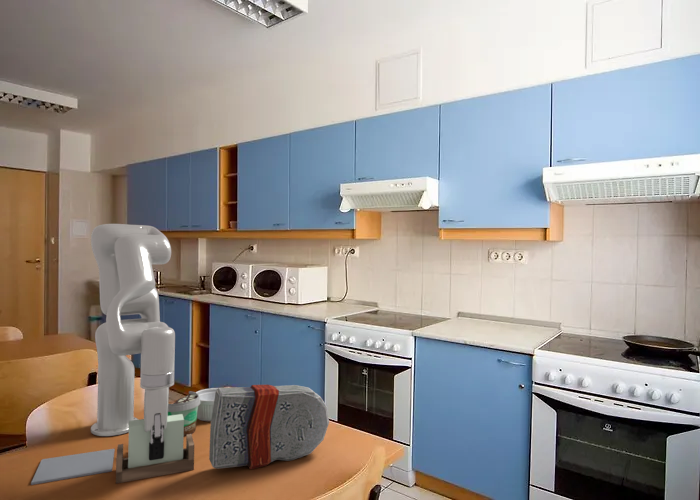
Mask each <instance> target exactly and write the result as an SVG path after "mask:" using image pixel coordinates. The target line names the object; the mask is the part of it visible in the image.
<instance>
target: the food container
mask: <svg viewBox="0 0 700 500" xmlns="http://www.w3.org/2000/svg"><path fill="white" fill-rule="evenodd" d="M199 404H200V397H199V395H198V394H197V393H196V392H195V391H190V390H189V391H188V394H187V395H185V396H183V397H180V398H178V399H177V400H176V401H174V402H173V403H168V416H171V415H179V414H183V418H184V438H186V435H187V434H192V435H193V434H194V433H195V432H196V428H197V420H198V418H197V410H198V405H199Z"/></svg>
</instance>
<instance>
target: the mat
mask: <svg viewBox="0 0 700 500" xmlns="http://www.w3.org/2000/svg"><path fill="white" fill-rule="evenodd" d="M115 450H116V449H115V448H110V449H101V450H97V451H96V450H95V451H89V452H84V453H83V452H82V453H76V454H68V455H63V456H62V455H61V456H56V457H48V458H42V459H41V461H40V463H39V464H38V467H37V469H36V471H35V474H34V476H33V478H32V479H31V482H30V485H31V486H33V485H39V484H44V483H50V482H57V481H64V480H68V479H69V480H70V479H75V478H80V477H86V476H92V475H98V474H104V473H110V472H113V466H114V458H115Z"/></svg>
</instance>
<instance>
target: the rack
mask: <svg viewBox="0 0 700 500" xmlns="http://www.w3.org/2000/svg"><path fill="white" fill-rule="evenodd" d="M185 438H186V439H185V440H186V441H185V443H186V444H185V445H186V446H185V448H184V447H183V459H182V460H176V461H170V462H164V463H158V464H152V465H146V466H140V467H134V468H128V457H124V443H120V444H117V447H116V457H115V458H116V460H115V461H116V462H115V484H121V483H127V482H132V481H137V480H143V479H149V478H154V477H160V476H165V475H171V474H178V473H183V472H188V471H193V470H195V442H194V439H193V434H187V435H186V436H185Z"/></svg>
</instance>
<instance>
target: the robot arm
mask: <svg viewBox="0 0 700 500" xmlns="http://www.w3.org/2000/svg"><path fill="white" fill-rule="evenodd" d="M90 243H91V244H90V245H91V251H92V254H93V256H94V259H95V262H96V264H97V267H98V276H99V304H100V310H101V312H102V314H104V315H106V318H105V322H104V323H102V324H100V325H99V326H98V327H97V328H96V329H95V333H94V334H95V335H94V338H95V346H96V347H95V348H96V352H97V363H98V365H97V409H96V410H97V413H96V416H97V417H96V418H97V419H96V420H97V421H96V422H95V423H94V424H92V425H91V427H90V433H91V434H93V435H94V436H98V437H112V436H120V435H125V434H127V433H129V421H132V420H139V418H137V417H135V415H134V413H135V365H134V363H133V362H132V360H131V359H130V358H129V357H127V356H131V355H137V354H138V355H139V354H140V378H139V379H140V382H139V383H140V384H139V385H140V386H139V387H140V388H142V389H144V395H143V397H144V398H143V403H144V404H143V419H144V431H145V432H147V431H150V430H151V431H150V432H151V441H150V443H149V460H156V459H162V458H163V457H164V441H163V429H164V430H165V429H166V427H167V417H168V404H169V394H170V393H169V392H170V387H172V386H174V385H175V361H176V360H175V358H176V357H175V355H176V353H175V352H176V351H175V349H176V332H175V330H174V329H173V328H172V327H170V326H169V325H168V324H167V323H165V322H163V321H161V317H160V316H161V313H160V298H159V293H158V289H157V287H156V280H155V273H154V269H153V265H165V264H167V263H169V261H170V260H171V256H172V246H171V244H170V241H169V239H168V237H167V236H166V235H165V234H164V233H163V232H161V231H160V230H159V229H158V228H157V227H155V226H152V225H145V224H127V223H123V224H122V223H103V224H99V225H97V226H95V227H94V228H93V229H92V232H91V236H90ZM131 315H140V317H141V318H133V319H131V318H129V319H122V318H121V316H131ZM154 418H155V420H154ZM161 425H162V426H161ZM152 426H153V427H155V429H152ZM160 426H161V428H160ZM154 432H155V434H154V435H153V433H154ZM160 432H161V434H160Z"/></svg>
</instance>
